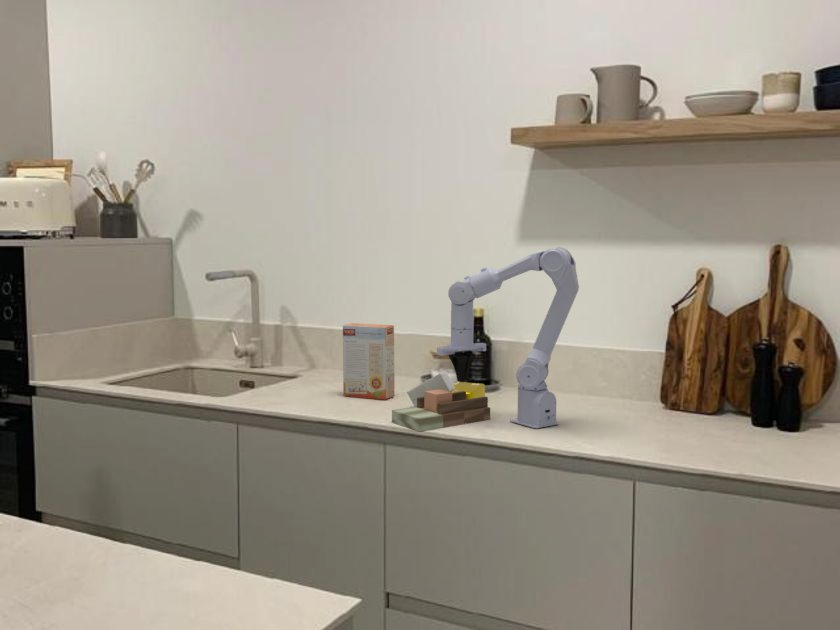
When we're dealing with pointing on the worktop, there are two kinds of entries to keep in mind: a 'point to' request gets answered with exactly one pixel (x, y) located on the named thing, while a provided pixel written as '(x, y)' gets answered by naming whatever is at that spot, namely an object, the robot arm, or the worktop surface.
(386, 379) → the cracker box
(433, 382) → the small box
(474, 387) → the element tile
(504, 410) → the worktop surface
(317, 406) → the worktop surface
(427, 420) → the trap channel
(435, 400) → the block
